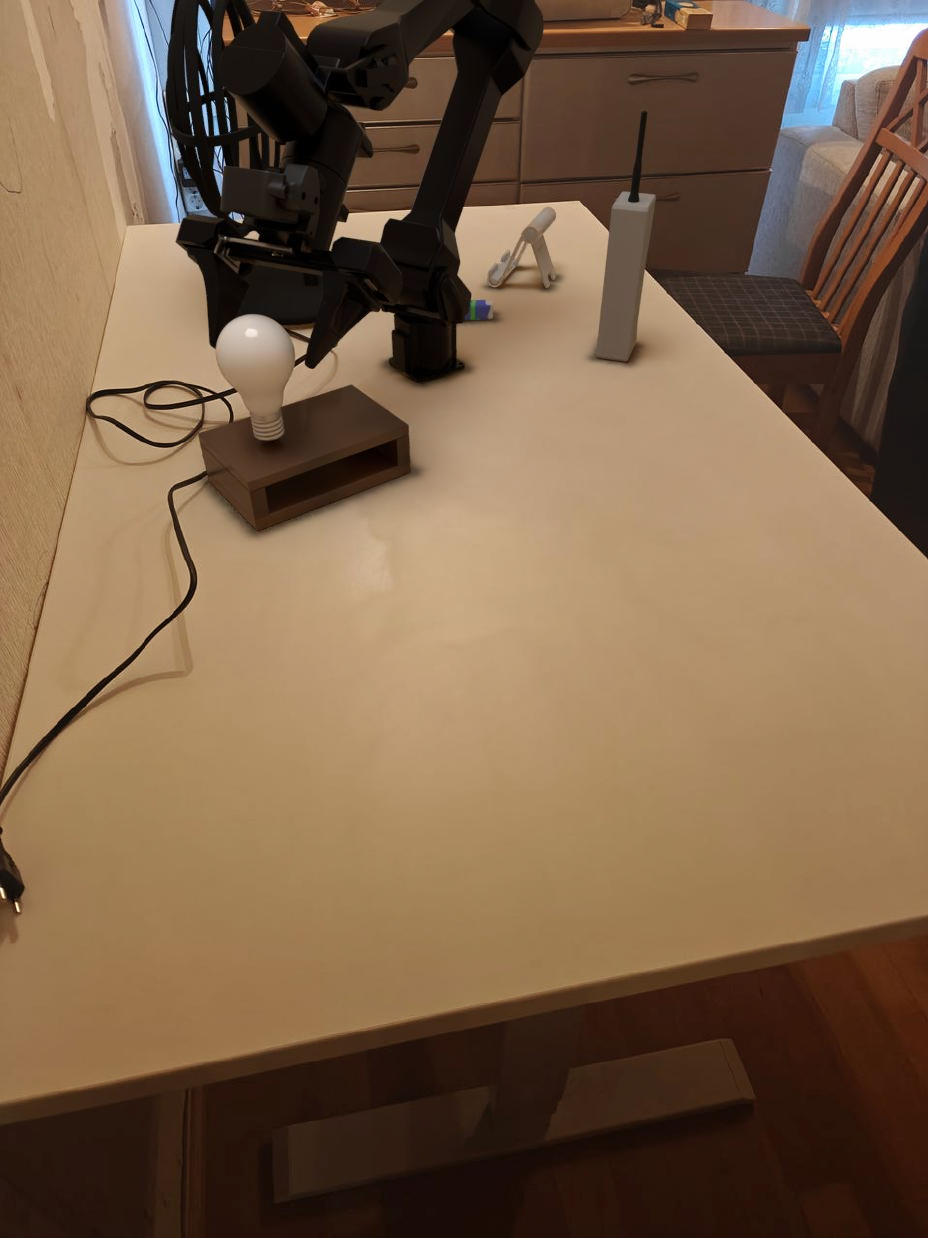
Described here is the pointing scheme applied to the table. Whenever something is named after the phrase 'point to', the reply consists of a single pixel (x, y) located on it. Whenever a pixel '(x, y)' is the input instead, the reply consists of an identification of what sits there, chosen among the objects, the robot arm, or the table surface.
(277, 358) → the lightbulb
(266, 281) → the desk fan
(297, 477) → the shelf
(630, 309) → the vintage mobile phone
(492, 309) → the eraser
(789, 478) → the table surface
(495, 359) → the table surface
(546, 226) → the tablet stand
